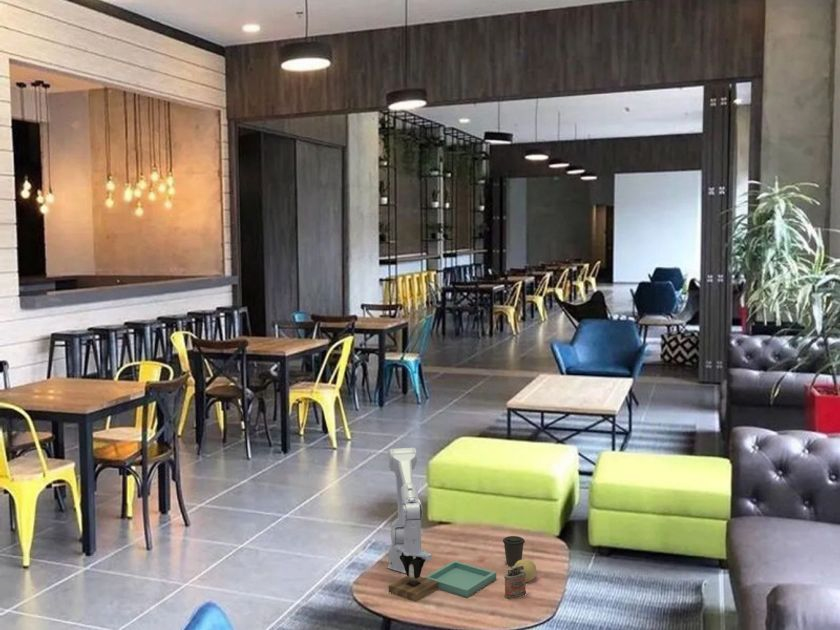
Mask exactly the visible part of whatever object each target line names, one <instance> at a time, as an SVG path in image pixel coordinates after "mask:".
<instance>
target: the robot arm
mask: <svg viewBox="0 0 840 630" xmlns="http://www.w3.org/2000/svg"><path fill="white" fill-rule="evenodd" d="M417 454H418V453H417V449H416V448H415V447H412V446H411V447H403V448H401V447H400V448H389V449H388V469H389V471H390V472H393V473H394V476H395V480H396V481H395V482H396V502H397V503H396V504H397V505H396V506H397V518H395V519H394V520H393V521H392V522H391V525H390V541H391V544H390V545H389V546H388V547H389V548H388V566H387V569H389V570H393V571H396V572H399V573H403V574H405V576H409V562H412V563H413V567H414V577H415V578H416V579H417V578H419V577H420V576H421V574H422V569H423V567H424V564H425V562H429V561H431V560H432V555H433V554H432V553H430V552H428V551H426V550H424V549H422V519H423V505H422V502H421V500H420V499H419V495H418V494H419V493H418V489H417V486H416V484H414V482H413V470H414V469H415V467H416V465H417V462H418V457H417V456H418V455H417Z"/></svg>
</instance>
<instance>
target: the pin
mask: <svg viewBox="0 0 840 630" xmlns="http://www.w3.org/2000/svg"><path fill="white" fill-rule="evenodd" d="M417 585H418V578H417V579H416V578H415V577H414V567H413V563H412V562H409V586H413V587H415V586H417Z"/></svg>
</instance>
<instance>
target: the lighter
mask: <svg viewBox="0 0 840 630" xmlns="http://www.w3.org/2000/svg"><path fill="white" fill-rule="evenodd" d="M523 569H524V566H523V565H520V566H517V567H515V566H512V567H510V568H507V573H506V574H504V575H503V578H504V599H506V600H513V599H517V597H518V598H521V597H524V596H526V595H527V590H526V587H527V586H526V584H527V583H526V582H525V575H526V572H525V571H521V570H523ZM525 594H526V595H525ZM523 595H524V596H523ZM520 596H521V597H520ZM512 598H513V599H512Z"/></svg>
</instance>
